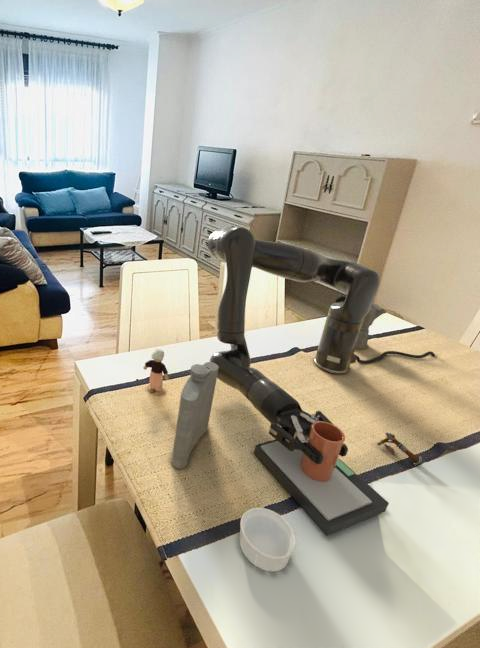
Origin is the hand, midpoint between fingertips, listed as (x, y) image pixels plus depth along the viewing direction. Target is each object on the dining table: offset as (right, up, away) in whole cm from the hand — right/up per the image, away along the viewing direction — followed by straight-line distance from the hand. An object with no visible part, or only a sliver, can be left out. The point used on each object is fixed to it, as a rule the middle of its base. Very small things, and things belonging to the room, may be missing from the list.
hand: (333, 456), depth 74 cm
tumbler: (-1, -5, +4) cm, 6 cm away
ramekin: (-17, -12, -8) cm, 22 cm away
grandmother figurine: (-32, +5, +31) cm, 44 cm away
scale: (-1, -7, +6) cm, 9 cm away
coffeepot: (+40, +13, +63) cm, 76 cm away
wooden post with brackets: (+22, -6, +13) cm, 26 cm away
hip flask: (-25, -3, +13) cm, 29 cm away
